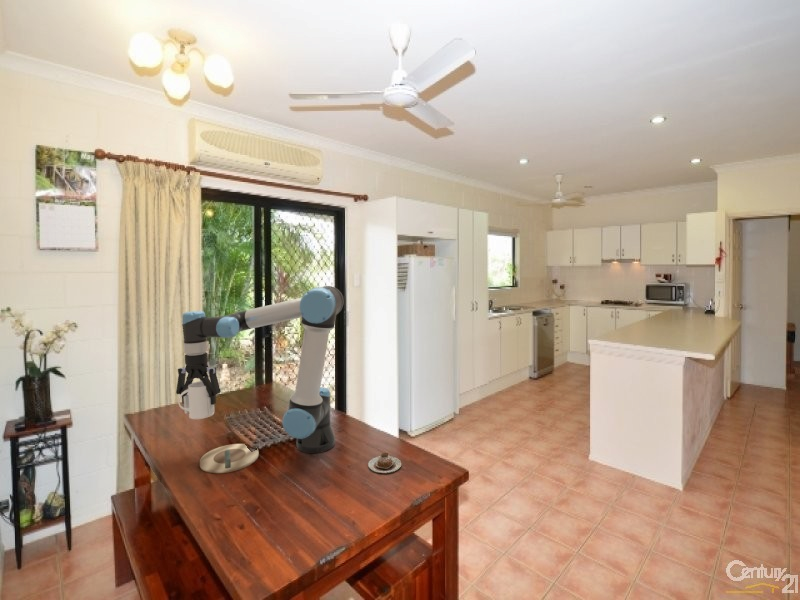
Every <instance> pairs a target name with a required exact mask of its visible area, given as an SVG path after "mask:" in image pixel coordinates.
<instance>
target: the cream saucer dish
mask: <svg viewBox="0 0 800 600" xmlns="http://www.w3.org/2000/svg"><path fill="white" fill-rule="evenodd" d="M245 444H246V443H232V444H226V445H222V446H218V447H216V448H213V449H211V450H209V451H208V452H206V453H204V454H203V455H202V456H201V458H200V460H199V467H200V469H201V470H202V471H204V472H206V473H210V474H225V473H226V474H227V473H231V472H232V473H233V472H236V471H240V470H243V469H245V468H248V467H249V466H251V465H252V464H253V463H255V462H256V461H257V460H258V458H259V455H260V454H259V448H257V450H255V451H253V452H251V451H250V450H249V449H248V448H247V446H246V445H245Z"/></svg>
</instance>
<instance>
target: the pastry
mask: <svg viewBox="0 0 800 600" xmlns="http://www.w3.org/2000/svg"><path fill="white" fill-rule="evenodd" d="M393 465H395V466H394V468H392V469H390V470H388V469H389V468H390V467H393ZM367 466H368V469H369V470H370V471H372V472H374V473H378V474H379V473H381V474H390V473H393V472H394V473H395V472H396V471H398V470H399V469H400V468H401V467H402V462H401V460H400V459H399V458H397V457H395V456H390V455H389V453H388V452H382V453H380V455H379V456H375V457H373V458H372V459H370V460H369V461H368V463H367ZM375 467H377V468H379V469H382V470H378V469H377V468H375ZM383 469H384V470H383Z"/></svg>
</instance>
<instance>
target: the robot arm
mask: <svg viewBox="0 0 800 600" xmlns="http://www.w3.org/2000/svg"><path fill="white" fill-rule="evenodd" d="M344 300H345V299H344V295H343V294H342V292H341V291H340V290H339V289H338V288H336V287H335V286H331V285H325V286H319V287H314V288H311V289H309V290H307V291H306V292H305V293H304V294H303V295H302V296H301V297H298V298H294V299H289V300H285V301H281V302H276V303H273V304H269V305H264V306H259V307H256V308H251V309H247V310H244V311H238V312H233V313H230V314H226V315H225V314H224V315H222V316H221V315H220V316H206V313H205V311H203V310H202V311H201V310H196V311H195V310H193V311H185V312H184V313H183V314H182V316H181V317H182V324H181V326H182V333H183V334H182V335H183V353H184V354H185V355H184V364H185V366H182V367H180V368H178V369H177V373H178V376H177V382H176V383H177V384H176V390H175V391H176V392H175V394H176V395H179V396H180V395H181V393H182V392H184V391H185V390H187V389H188V385H189V384H192V383H194V379H199V381H202V382H203V384H204V386H206V390H207V392H208V394H209V395H210V396H208V413H209V414H211V413H213V412H214V413H215V411H216V410H215V404H216V403H217V397H216V395H219V394H220V393H222V392H221V387H220V384H219V381H218V377H217V367H215V366H214V367H209V365H208V363H209V359H208V357H209V356H208V345H207V343H208V342H207V338H221V339H227V338H235V337H236V336H237V335H238V333H239V332H244V331H247V330H251V329H252V330H253V329H255V328H260V327H265V326H270V325H275V324H278V323H282V322H287V321H291V320H296V319H300V318H301V322H300V323H301V325H302V327H303V328H304V331H303V338H302V344H301V352H300V357H299V364H298V370H297V378H296V384H295V391H294V392H293V393H292V394H291V395H290V397H289V400H288V408H287V411H285V413H284V414H283V417H282V421H281V422H282V429H283V430H284V431H285V432H286V434H287V435H288V436H290V437H292V438H294V439H296V448H297V450H298V451H299V452H302V453H306V454H317V453H318V454H319V453H323V452H326V451H329V450H331V449H332V448H333V447H334V446H335V445H336V436H335V433H334V431H333V428H332V425H331V397H332V396H331V392H330V389H328V388H326V387H322V386H321V385H322V379H323V373H324V366H325V360H326V354H327V348H328V347H327V346H328V341H329V334H330V332H331V331H332V330H333V329H334V328H335V325H336V318H337V315H338V314H339V313H340V312H341V311H342V309H343V306H344ZM186 375H187V376H186ZM181 403H182V404H183V407H184V408H189V393H188V392H187V393H185V394H183V395H182V396H181ZM183 411H184V412H183V413H184V414H188V413H189V411H186V410H183Z"/></svg>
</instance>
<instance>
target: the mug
mask: <svg viewBox="0 0 800 600" xmlns="http://www.w3.org/2000/svg"><path fill="white" fill-rule="evenodd" d="M187 392H188V394H189V408H184V406H183V405H182V404H181V401H180V400H181V399H182V395H183V394H185V393H187ZM208 396H210V395H209V394H208V392H207V390H206V386H204V384H203V382H202V381H201V380H199V381H195V382H194V381H193V382H192V384H189V385H188V389H187V390H185V391H184V392H182V393H181V395H180V394H179V397H178V399H177V403H178V406H179V408H180V409H181V410H183V411H184V410H186V411H189V412H188V413H189V414H188V418H189V419H191V420H201V419H203V420H204V419H207V418H209V417H212V416H214V414H215V411H214V412H213V413H211V414H209V413H208Z"/></svg>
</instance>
